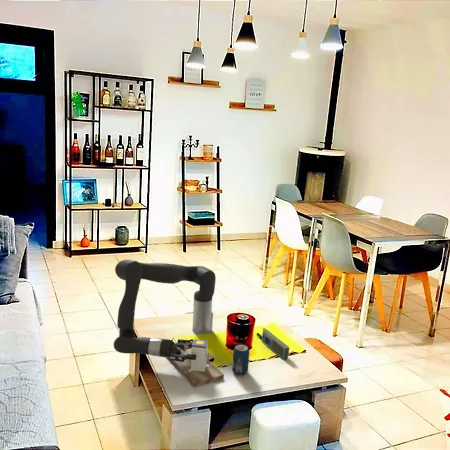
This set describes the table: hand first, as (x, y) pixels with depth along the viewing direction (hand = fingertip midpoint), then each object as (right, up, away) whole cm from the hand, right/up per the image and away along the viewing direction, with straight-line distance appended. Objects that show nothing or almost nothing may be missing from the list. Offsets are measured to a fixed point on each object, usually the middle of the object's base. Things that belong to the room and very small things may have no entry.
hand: (198, 352), depth 199 cm
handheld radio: (+34, -5, +27) cm, 43 cm away
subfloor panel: (-3, -8, +7) cm, 11 cm away
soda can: (+18, -10, +4) cm, 21 cm away
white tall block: (0, -7, +2) cm, 7 cm away
